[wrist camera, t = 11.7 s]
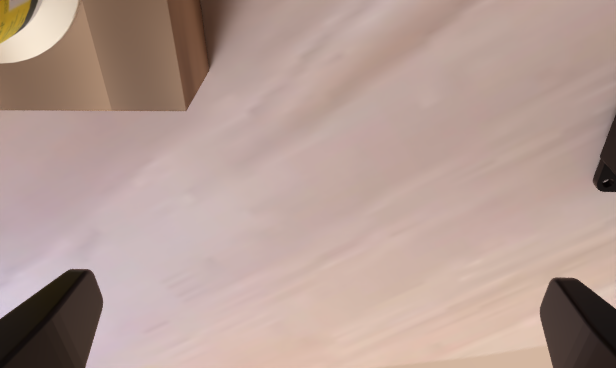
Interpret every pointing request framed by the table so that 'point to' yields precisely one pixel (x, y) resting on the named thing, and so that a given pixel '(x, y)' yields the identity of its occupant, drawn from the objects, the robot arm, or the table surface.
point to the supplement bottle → (16, 16)
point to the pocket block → (106, 57)
